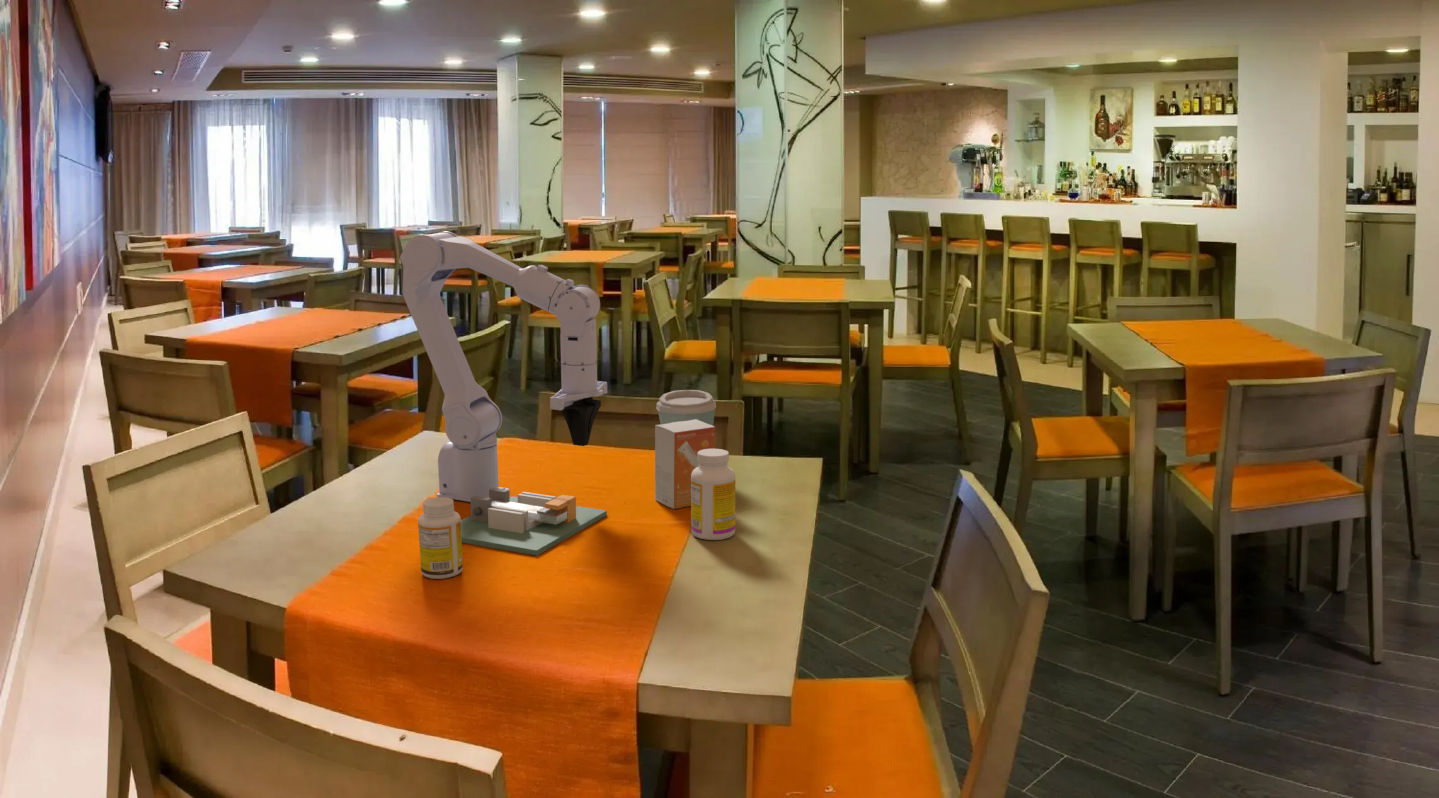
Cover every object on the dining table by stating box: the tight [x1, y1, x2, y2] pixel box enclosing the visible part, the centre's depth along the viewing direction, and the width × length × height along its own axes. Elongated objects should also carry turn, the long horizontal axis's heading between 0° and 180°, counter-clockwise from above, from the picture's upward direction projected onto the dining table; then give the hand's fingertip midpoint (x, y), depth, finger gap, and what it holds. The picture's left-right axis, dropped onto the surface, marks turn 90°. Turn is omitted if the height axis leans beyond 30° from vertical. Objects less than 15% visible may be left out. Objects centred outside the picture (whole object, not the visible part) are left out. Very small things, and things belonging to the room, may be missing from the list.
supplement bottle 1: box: [417, 496, 464, 580], centre depth 146 cm, size 6×6×10 cm
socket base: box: [460, 488, 608, 557], centre depth 166 cm, size 18×20×4 cm
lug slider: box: [545, 494, 577, 523], centre depth 165 cm, size 2×5×4 cm, turn 156°
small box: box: [654, 419, 716, 510], centre depth 178 cm, size 8×6×13 cm
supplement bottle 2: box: [690, 448, 736, 541], centre depth 162 cm, size 7×7×13 cm
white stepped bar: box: [491, 499, 567, 524], centre depth 166 cm, size 13×3×2 cm, turn 66°
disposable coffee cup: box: [655, 389, 717, 426], centre depth 192 cm, size 11×11×15 cm
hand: (580, 444), depth 176 cm, fingers closed
